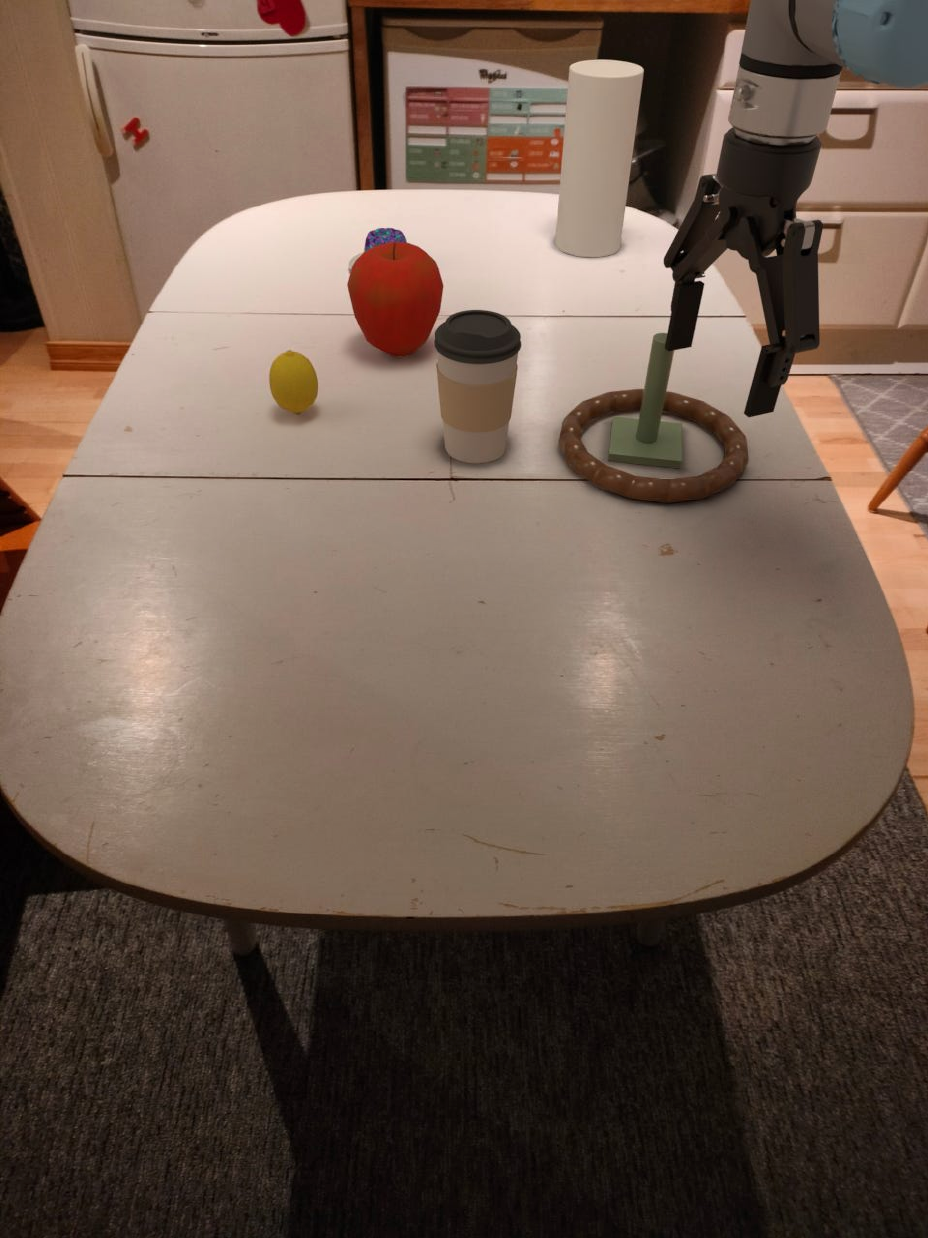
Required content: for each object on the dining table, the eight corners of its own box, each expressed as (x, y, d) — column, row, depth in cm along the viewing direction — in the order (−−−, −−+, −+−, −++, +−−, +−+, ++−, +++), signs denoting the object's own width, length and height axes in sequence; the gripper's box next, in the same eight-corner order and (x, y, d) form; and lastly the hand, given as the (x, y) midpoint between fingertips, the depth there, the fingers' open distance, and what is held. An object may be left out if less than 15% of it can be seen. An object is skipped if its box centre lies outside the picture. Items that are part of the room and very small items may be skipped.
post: (680, 430, 99) (703, 324, 90) (680, 468, 93) (705, 359, 84) (611, 423, 100) (627, 317, 91) (607, 460, 94) (624, 351, 85)
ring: (740, 413, 102) (745, 395, 100) (749, 516, 87) (755, 497, 86) (568, 395, 104) (569, 377, 103) (549, 493, 90) (551, 474, 88)
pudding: (332, 271, 131) (329, 236, 127) (381, 247, 138) (379, 213, 134) (393, 290, 126) (392, 255, 122) (441, 264, 133) (440, 230, 129)
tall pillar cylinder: (602, 262, 134) (624, 79, 117) (543, 247, 138) (556, 69, 121) (630, 241, 141) (655, 65, 123) (573, 227, 145) (590, 55, 127)
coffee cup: (449, 420, 100) (449, 295, 90) (523, 432, 98) (532, 307, 88) (425, 461, 94) (421, 332, 83) (503, 475, 92) (510, 345, 82)
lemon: (322, 423, 99) (314, 360, 94) (274, 427, 99) (264, 364, 93) (320, 399, 103) (312, 337, 98) (274, 403, 103) (264, 341, 97)
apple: (368, 325, 118) (360, 219, 108) (452, 333, 116) (452, 227, 106) (341, 367, 109) (330, 256, 99) (431, 377, 107) (429, 265, 98)
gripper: (650, 97, 74) (618, 329, 89) (841, 185, 57) (761, 453, 72) (723, 90, 76) (679, 318, 91) (927, 173, 59) (833, 436, 74)
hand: (715, 378), depth 81 cm, fingers open, 13 cm apart
